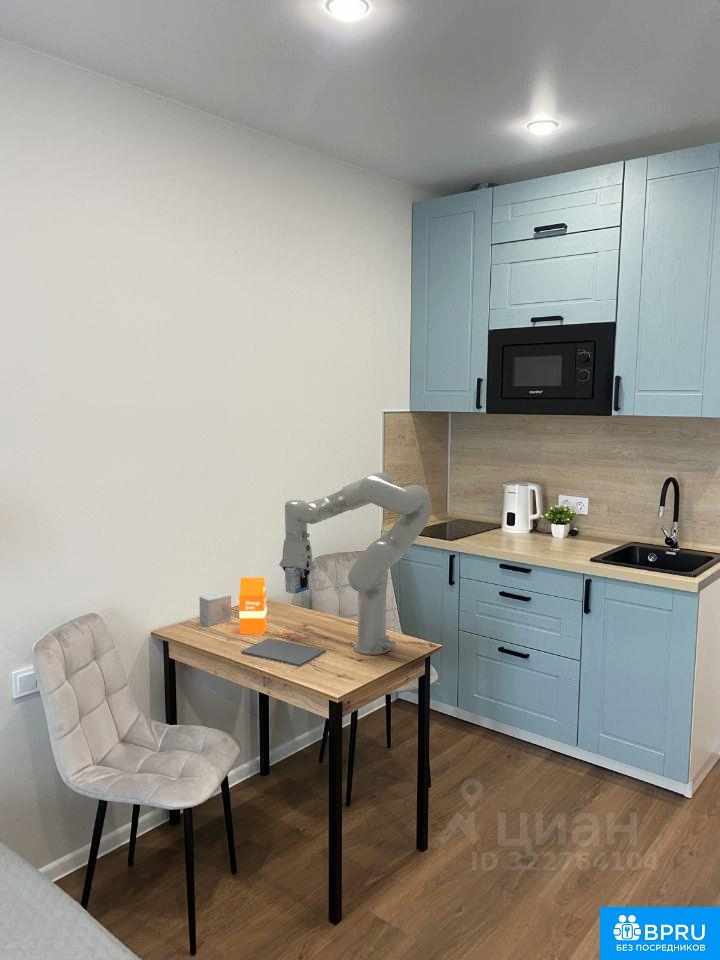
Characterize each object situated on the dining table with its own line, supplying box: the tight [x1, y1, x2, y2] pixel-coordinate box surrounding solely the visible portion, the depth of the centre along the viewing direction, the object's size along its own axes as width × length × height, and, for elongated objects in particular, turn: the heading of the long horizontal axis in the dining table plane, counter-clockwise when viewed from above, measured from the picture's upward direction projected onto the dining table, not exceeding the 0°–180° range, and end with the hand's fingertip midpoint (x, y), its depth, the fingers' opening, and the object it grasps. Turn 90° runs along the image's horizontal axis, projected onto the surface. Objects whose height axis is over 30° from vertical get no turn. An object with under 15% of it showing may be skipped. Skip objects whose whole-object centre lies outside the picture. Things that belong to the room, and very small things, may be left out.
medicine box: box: [284, 567, 310, 595], centre depth 253 cm, size 8×4×9 cm, turn 143°
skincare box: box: [199, 591, 232, 627], centre depth 274 cm, size 10×6×10 cm, turn 133°
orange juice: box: [238, 577, 268, 635], centre depth 263 cm, size 8×9×20 cm
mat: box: [240, 637, 326, 667], centre depth 241 cm, size 24×15×1 cm, turn 60°
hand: (297, 586), depth 253 cm, fingers closed on medicine box, 4 cm apart
